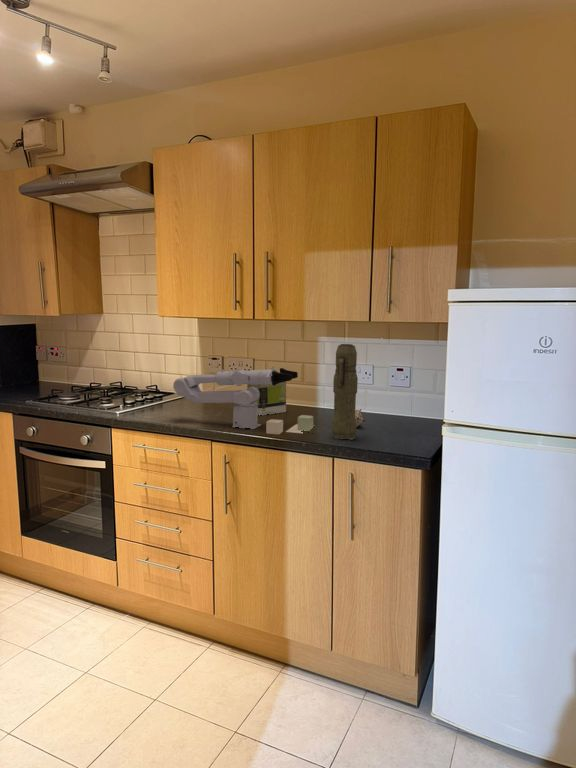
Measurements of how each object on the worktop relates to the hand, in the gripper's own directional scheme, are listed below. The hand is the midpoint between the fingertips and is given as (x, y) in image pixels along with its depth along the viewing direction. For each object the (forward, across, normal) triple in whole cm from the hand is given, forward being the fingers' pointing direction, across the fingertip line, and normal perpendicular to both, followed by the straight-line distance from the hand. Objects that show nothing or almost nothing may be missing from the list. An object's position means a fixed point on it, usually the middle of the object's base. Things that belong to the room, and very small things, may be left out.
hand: (294, 376), depth 207 cm
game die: (+19, +14, +24) cm, 33 cm away
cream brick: (-7, -6, +21) cm, 23 cm away
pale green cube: (+2, +3, +22) cm, 22 cm away
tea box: (-24, +29, +20) cm, 43 cm away
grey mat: (+2, +3, +22) cm, 22 cm away
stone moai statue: (+19, -4, +24) cm, 31 cm away
